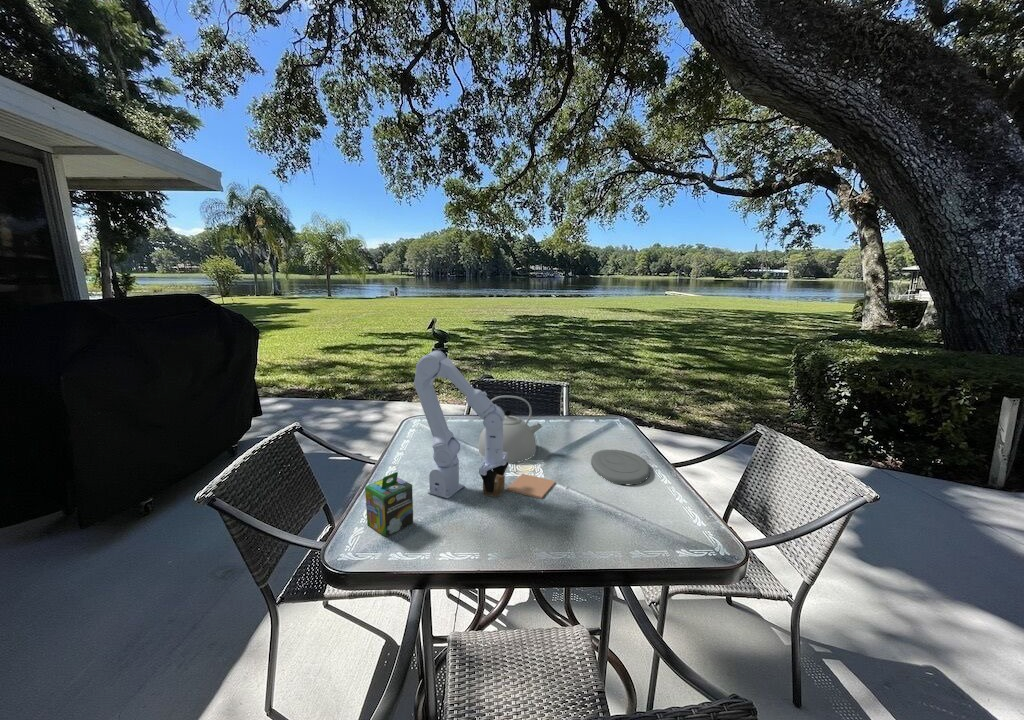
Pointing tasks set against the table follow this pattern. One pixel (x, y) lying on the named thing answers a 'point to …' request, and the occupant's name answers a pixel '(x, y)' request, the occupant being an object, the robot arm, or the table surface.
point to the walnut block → (496, 486)
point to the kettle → (515, 436)
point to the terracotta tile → (531, 486)
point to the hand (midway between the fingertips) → (493, 487)
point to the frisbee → (620, 466)
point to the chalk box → (389, 504)
